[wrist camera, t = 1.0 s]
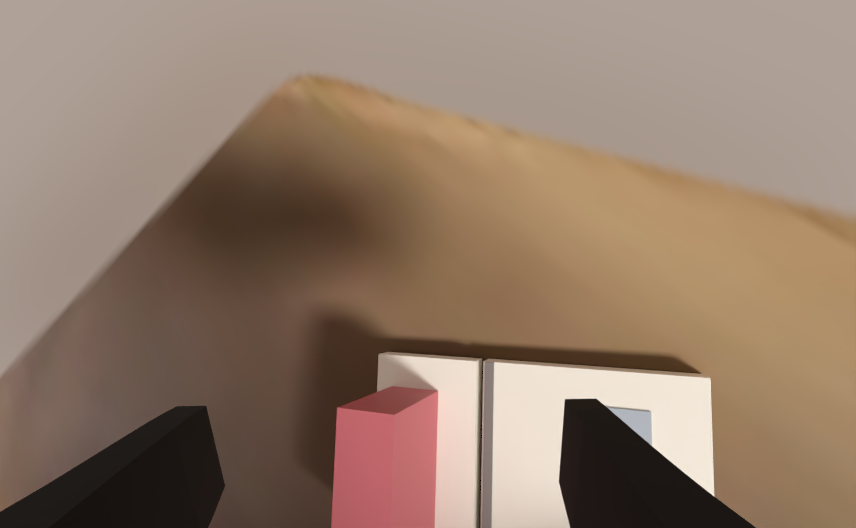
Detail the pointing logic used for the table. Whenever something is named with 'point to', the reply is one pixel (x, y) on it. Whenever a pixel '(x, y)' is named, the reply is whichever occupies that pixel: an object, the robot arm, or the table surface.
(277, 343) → the table surface
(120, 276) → the table surface
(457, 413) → the stub
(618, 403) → the white flat slab
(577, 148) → the table surface
